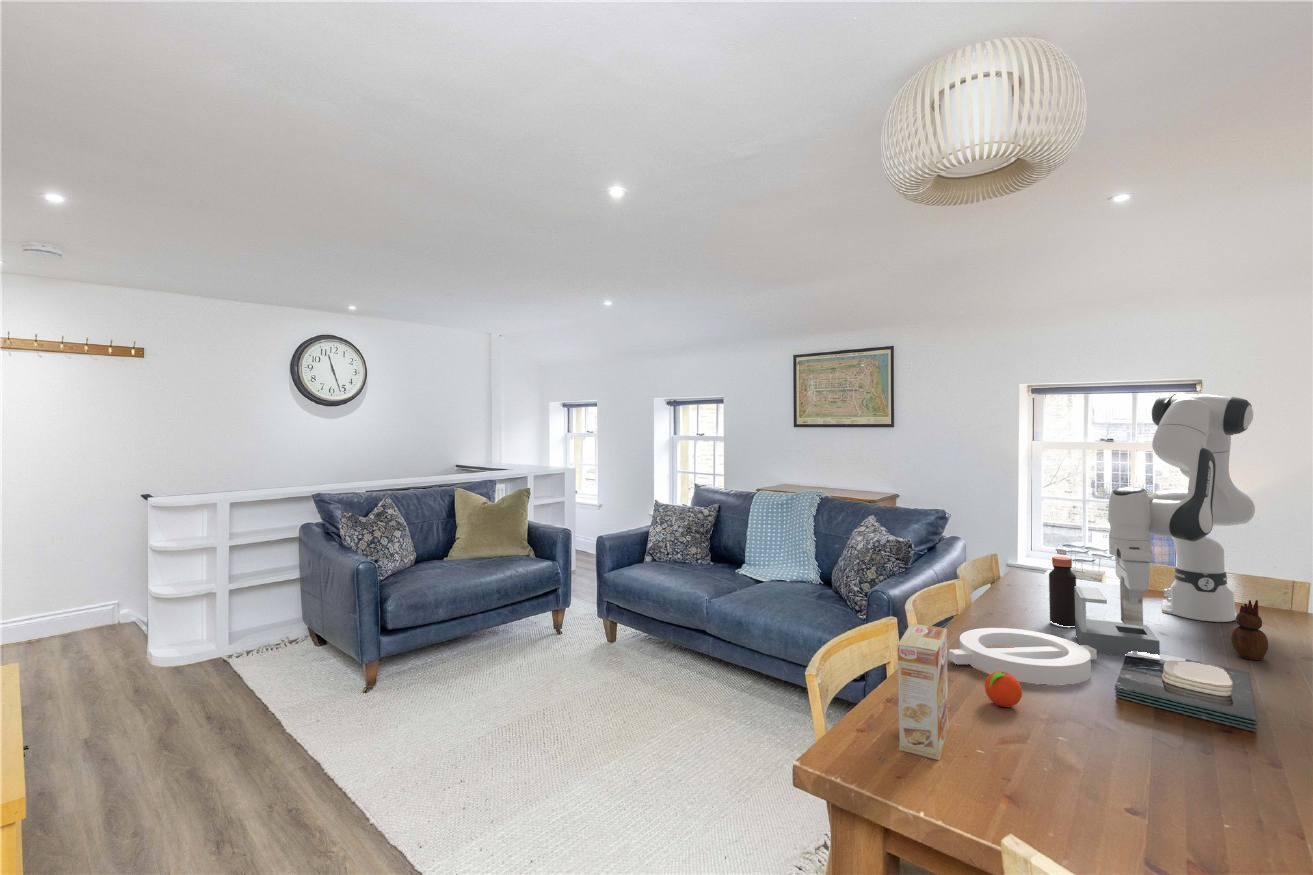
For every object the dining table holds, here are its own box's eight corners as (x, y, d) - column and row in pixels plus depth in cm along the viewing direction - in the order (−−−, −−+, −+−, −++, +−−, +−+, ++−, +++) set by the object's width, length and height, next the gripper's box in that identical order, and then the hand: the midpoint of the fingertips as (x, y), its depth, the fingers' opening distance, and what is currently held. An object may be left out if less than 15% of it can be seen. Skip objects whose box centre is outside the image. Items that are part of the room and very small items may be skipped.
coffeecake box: (940, 761, 107) (938, 650, 107) (897, 750, 110) (895, 643, 110) (950, 726, 119) (948, 627, 119) (911, 718, 123) (909, 622, 123)
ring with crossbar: (945, 666, 151) (944, 647, 151) (977, 638, 171) (977, 621, 172) (1080, 697, 132) (1080, 675, 132) (1099, 661, 152) (1098, 642, 152)
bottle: (1052, 627, 179) (1051, 559, 179) (1047, 620, 185) (1046, 555, 185) (1079, 629, 176) (1078, 560, 177) (1073, 622, 183) (1072, 556, 183)
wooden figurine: (1274, 663, 148) (1272, 602, 148) (1246, 662, 149) (1245, 601, 149) (1253, 653, 155) (1251, 595, 155) (1226, 652, 156) (1225, 594, 156)
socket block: (1075, 635, 171) (1074, 585, 171) (1147, 643, 163) (1146, 591, 163) (1082, 650, 159) (1080, 597, 159) (1159, 660, 151) (1158, 604, 151)
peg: (1121, 620, 162) (1119, 575, 162) (1139, 621, 160) (1138, 576, 160) (1124, 624, 158) (1122, 578, 159) (1143, 626, 156) (1142, 579, 157)
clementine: (1006, 716, 123) (1005, 681, 123) (974, 703, 129) (973, 670, 129) (1029, 708, 127) (1029, 674, 127) (997, 695, 133) (997, 663, 133)
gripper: (1108, 542, 170) (1109, 591, 170) (1122, 554, 152) (1123, 609, 152) (1136, 543, 167) (1137, 593, 167) (1154, 556, 149) (1155, 612, 149)
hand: (1131, 601), depth 159 cm, fingers closed on peg, 4 cm apart
